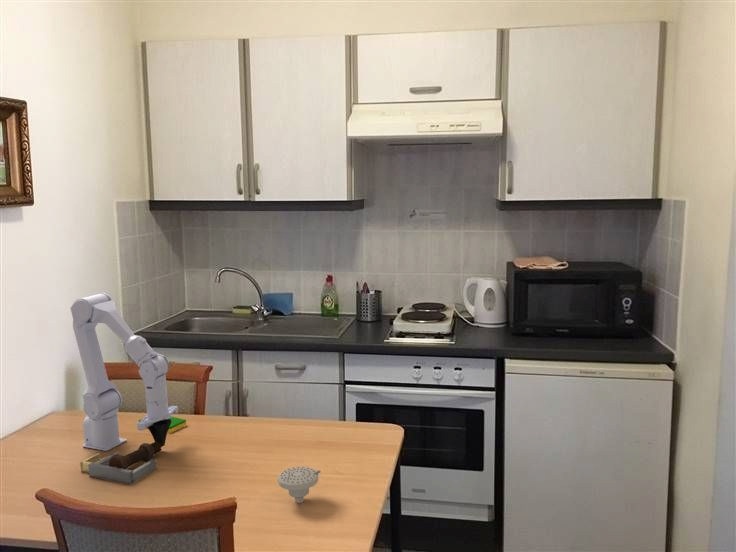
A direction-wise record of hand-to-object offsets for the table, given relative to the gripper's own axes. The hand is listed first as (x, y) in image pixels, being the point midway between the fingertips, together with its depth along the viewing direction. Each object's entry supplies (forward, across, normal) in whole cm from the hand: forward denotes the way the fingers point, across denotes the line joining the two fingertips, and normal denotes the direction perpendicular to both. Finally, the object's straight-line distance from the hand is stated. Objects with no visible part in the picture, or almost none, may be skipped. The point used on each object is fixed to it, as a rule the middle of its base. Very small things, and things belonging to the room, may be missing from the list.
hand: (160, 445), depth 184 cm
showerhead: (+2, -12, -52) cm, 53 cm away
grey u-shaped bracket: (+2, -14, 0) cm, 14 cm away
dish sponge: (+2, +16, +13) cm, 20 cm away
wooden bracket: (+2, -15, +9) cm, 17 cm away
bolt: (+2, -9, 0) cm, 9 cm away
